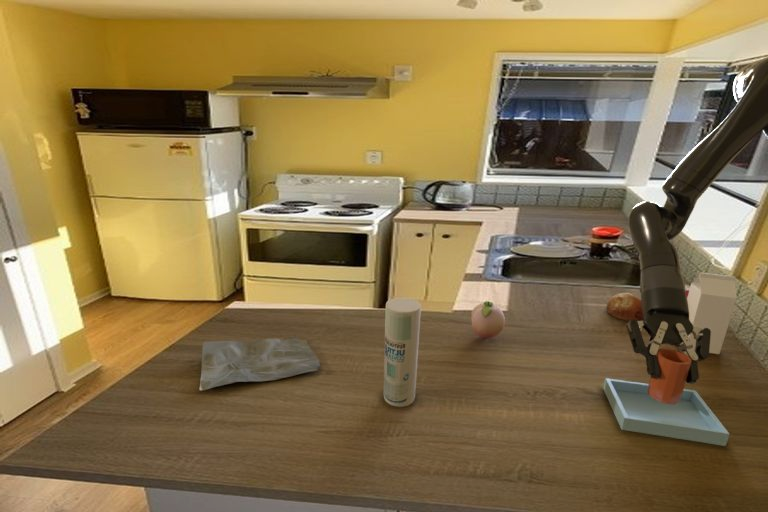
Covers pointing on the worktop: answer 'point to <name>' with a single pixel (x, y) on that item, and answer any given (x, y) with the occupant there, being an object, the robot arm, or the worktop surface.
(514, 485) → the worktop surface
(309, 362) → the grey flat pouch
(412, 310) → the spray can
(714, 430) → the tray
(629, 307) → the bread roll
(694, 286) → the milk carton
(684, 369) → the cup
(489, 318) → the decorative fruit
